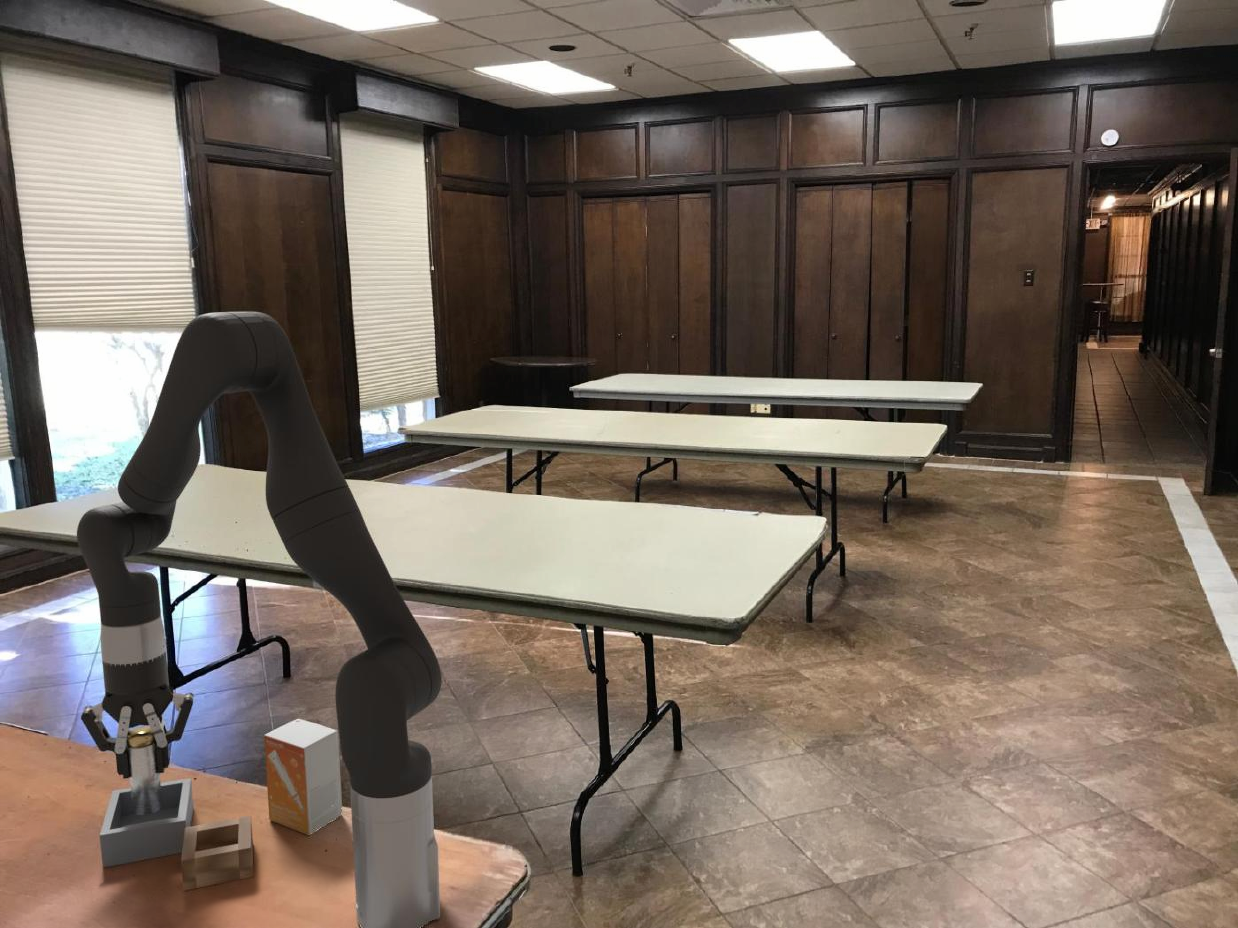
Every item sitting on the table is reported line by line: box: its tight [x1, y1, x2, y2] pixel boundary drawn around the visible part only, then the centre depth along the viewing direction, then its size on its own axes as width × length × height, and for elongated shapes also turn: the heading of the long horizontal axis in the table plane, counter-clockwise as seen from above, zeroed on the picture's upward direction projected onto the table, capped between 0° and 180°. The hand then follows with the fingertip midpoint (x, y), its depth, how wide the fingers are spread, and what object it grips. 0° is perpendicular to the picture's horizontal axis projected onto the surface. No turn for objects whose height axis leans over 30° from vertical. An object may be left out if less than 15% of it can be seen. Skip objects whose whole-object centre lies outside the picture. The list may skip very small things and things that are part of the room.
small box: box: [263, 718, 343, 836], centre depth 131 cm, size 8×6×13 cm
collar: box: [180, 815, 254, 891], centre depth 121 cm, size 8×8×4 cm
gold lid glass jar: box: [127, 725, 162, 815], centre depth 126 cm, size 4×4×11 cm
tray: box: [99, 777, 194, 869], centre depth 128 cm, size 10×12×4 cm
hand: (144, 772), depth 126 cm, fingers closed on gold lid glass jar, 3 cm apart
